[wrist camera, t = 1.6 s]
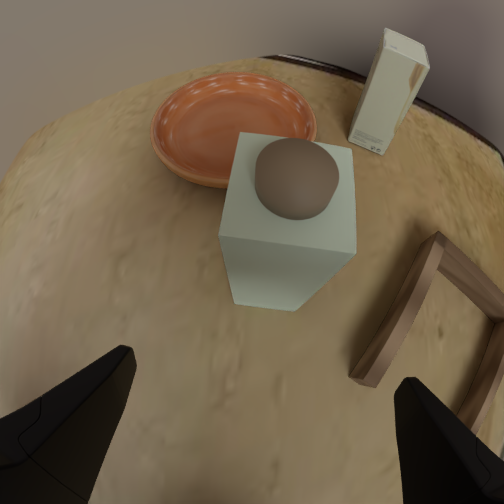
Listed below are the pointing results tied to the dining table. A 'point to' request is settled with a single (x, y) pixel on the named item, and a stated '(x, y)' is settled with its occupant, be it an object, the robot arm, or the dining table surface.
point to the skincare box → (388, 91)
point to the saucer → (224, 122)
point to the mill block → (286, 219)
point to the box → (407, 306)
